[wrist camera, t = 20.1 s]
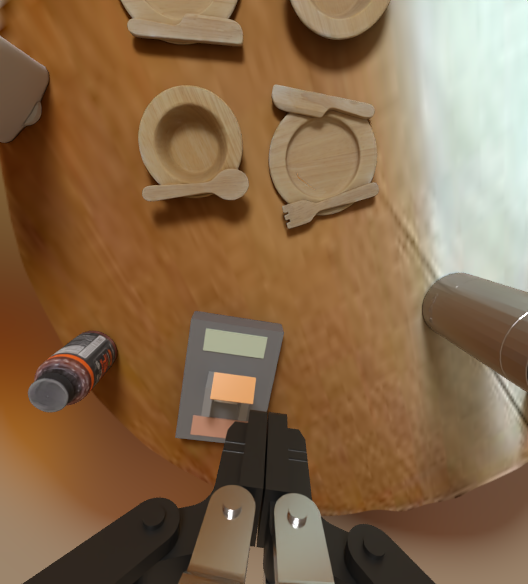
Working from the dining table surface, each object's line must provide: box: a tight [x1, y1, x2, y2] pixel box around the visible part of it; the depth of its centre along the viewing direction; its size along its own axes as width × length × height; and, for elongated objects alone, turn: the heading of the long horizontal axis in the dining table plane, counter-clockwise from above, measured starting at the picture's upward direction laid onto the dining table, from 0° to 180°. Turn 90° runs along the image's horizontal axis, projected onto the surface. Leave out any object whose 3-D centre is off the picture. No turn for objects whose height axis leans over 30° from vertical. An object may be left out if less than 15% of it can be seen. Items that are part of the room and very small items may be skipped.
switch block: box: [175, 311, 284, 443], centre depth 42 cm, size 12×18×7 cm, turn 170°
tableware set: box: [121, 0, 390, 229], centre depth 34 cm, size 35×29×4 cm
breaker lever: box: [210, 372, 256, 404], centre depth 36 cm, size 4×2×14 cm
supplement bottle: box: [28, 331, 117, 412], centre depth 38 cm, size 6×6×11 cm
